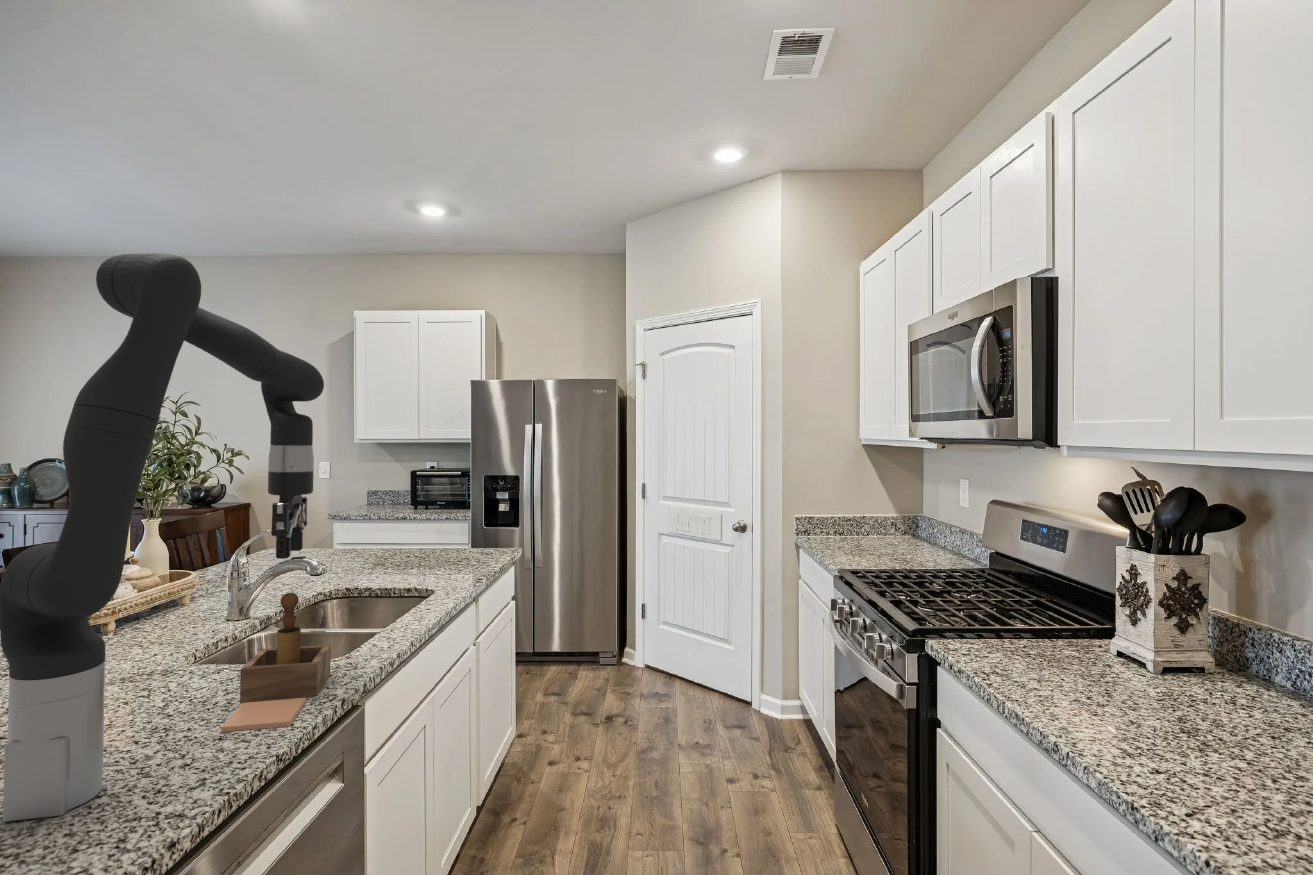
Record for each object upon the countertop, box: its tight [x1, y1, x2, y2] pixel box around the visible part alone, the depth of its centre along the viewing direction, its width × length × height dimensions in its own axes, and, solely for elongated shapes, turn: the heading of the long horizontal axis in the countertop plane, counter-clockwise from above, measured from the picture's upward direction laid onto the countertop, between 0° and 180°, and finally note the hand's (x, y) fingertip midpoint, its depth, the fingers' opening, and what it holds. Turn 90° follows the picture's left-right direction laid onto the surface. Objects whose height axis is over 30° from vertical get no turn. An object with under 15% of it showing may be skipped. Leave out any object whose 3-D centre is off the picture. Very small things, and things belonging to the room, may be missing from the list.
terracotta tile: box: [220, 697, 307, 733], centre depth 110 cm, size 10×10×1 cm
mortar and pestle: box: [276, 592, 302, 665], centre depth 123 cm, size 7×6×18 cm
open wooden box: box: [239, 644, 332, 704], centre depth 123 cm, size 11×12×6 cm
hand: (289, 554), depth 123 cm, fingers open, 8 cm apart
